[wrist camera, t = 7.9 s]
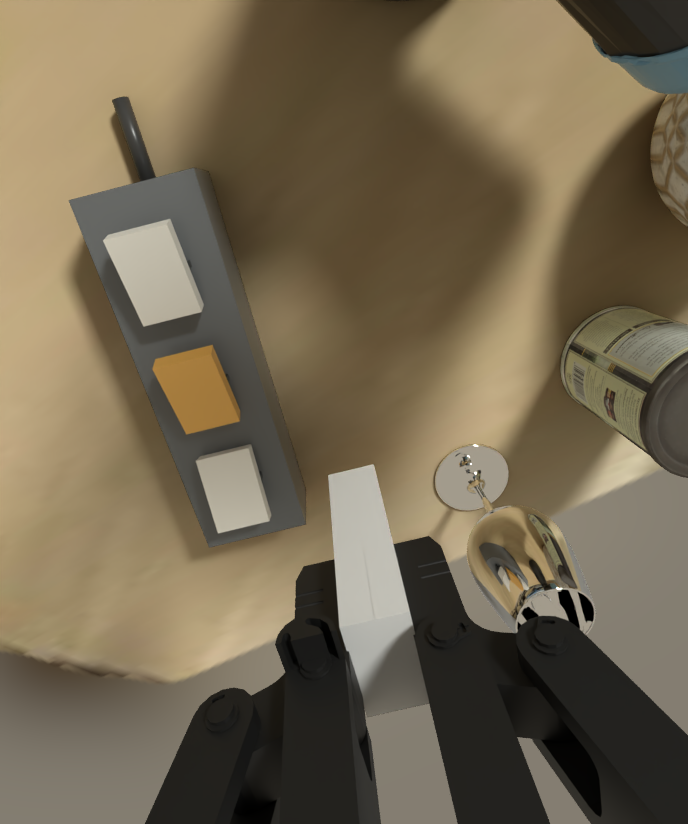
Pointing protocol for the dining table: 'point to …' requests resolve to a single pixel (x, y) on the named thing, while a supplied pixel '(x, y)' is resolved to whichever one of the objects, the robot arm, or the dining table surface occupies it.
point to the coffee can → (634, 379)
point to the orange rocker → (197, 389)
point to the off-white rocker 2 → (234, 488)
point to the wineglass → (513, 545)
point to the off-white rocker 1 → (154, 272)
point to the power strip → (197, 331)
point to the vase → (672, 154)
